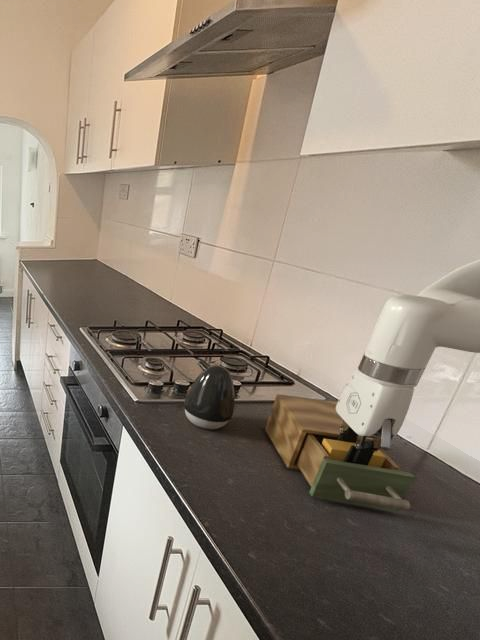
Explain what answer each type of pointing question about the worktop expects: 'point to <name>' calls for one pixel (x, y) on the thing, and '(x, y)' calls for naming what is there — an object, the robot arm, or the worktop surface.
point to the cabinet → (300, 424)
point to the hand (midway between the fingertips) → (349, 457)
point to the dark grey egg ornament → (210, 398)
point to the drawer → (352, 478)
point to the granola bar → (341, 449)
